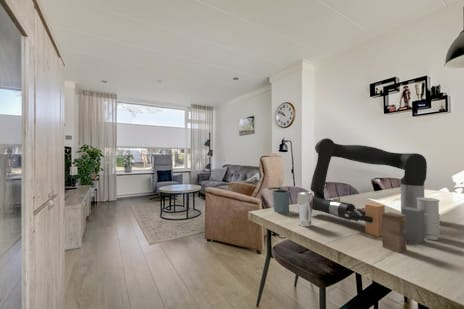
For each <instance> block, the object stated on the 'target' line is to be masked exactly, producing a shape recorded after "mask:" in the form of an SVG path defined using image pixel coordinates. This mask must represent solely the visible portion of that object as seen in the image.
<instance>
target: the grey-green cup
mask: <svg viewBox="0 0 464 309" xmlns="http://www.w3.org/2000/svg"><path fill="white" fill-rule="evenodd" d="M290 195H291V190H287V189H286V190H285V189H274V190H273V189H272V202H273V211H274V213H276V212H278V213H277V214H288V213H289V212H290V197H291V196H290ZM287 212H288V213H287Z"/></svg>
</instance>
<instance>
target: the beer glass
mask: <svg viewBox="0 0 464 309" xmlns="http://www.w3.org/2000/svg"><path fill="white" fill-rule="evenodd" d="M312 196H313V192H307V191H299V192H297V200H296V202H297V210H298V218H299V219H298V225H299V226H300V227H303V226H304V228H305V227H306V228H309V227H312V226H313V222H312V221H313V220H312V214H313V212H312V211H313V210H312V208H313V197H312Z"/></svg>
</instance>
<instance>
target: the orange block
mask: <svg viewBox="0 0 464 309" xmlns="http://www.w3.org/2000/svg"><path fill="white" fill-rule="evenodd" d="M364 205H365V207H364V209H365V216H369V217H372V218H373V222H372V223H370V222H366V221H364V222H365V223H364V225H365V233H366V234H368V235H372V236H375V237H378V238H379V237H381V236H382V213H386V208H385V206H386V205H385V204H380V203H374V202H371V203H370V202H369V203H365V204H364Z"/></svg>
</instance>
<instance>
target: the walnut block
mask: <svg viewBox="0 0 464 309" xmlns="http://www.w3.org/2000/svg"><path fill="white" fill-rule="evenodd" d="M381 238H382V244H381V245H382V248H384V249H386V250H389V251H392V252H396V253H399V254H400V253H402V252H404V251H406V250H407V241H406V215H403V214H401V213H398V212H393V211H387V212H386V211H385V213H382V237H381Z"/></svg>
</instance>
